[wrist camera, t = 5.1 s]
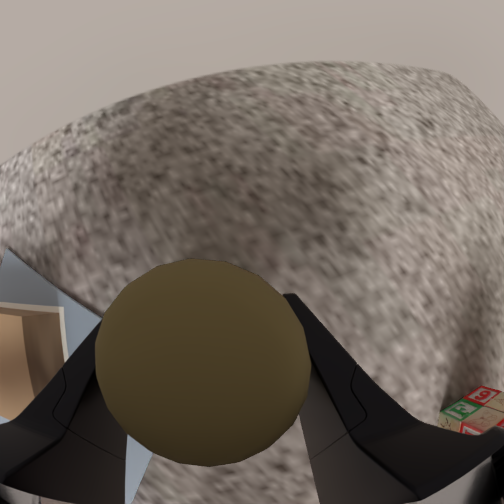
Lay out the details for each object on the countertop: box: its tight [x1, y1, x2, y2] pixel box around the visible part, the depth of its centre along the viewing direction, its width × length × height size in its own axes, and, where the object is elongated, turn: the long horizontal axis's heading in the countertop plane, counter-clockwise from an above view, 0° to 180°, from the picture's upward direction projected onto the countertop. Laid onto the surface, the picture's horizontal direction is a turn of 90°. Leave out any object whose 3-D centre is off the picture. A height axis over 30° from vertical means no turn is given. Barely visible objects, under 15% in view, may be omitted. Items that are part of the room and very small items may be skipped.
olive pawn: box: [95, 259, 311, 467], centre depth 10 cm, size 6×6×11 cm
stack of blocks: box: [437, 386, 504, 435], centre depth 9 cm, size 21×6×12 cm, turn 7°
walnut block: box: [0, 307, 65, 421], centre depth 11 cm, size 7×7×4 cm
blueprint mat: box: [0, 248, 153, 504], centre depth 13 cm, size 18×16×1 cm
